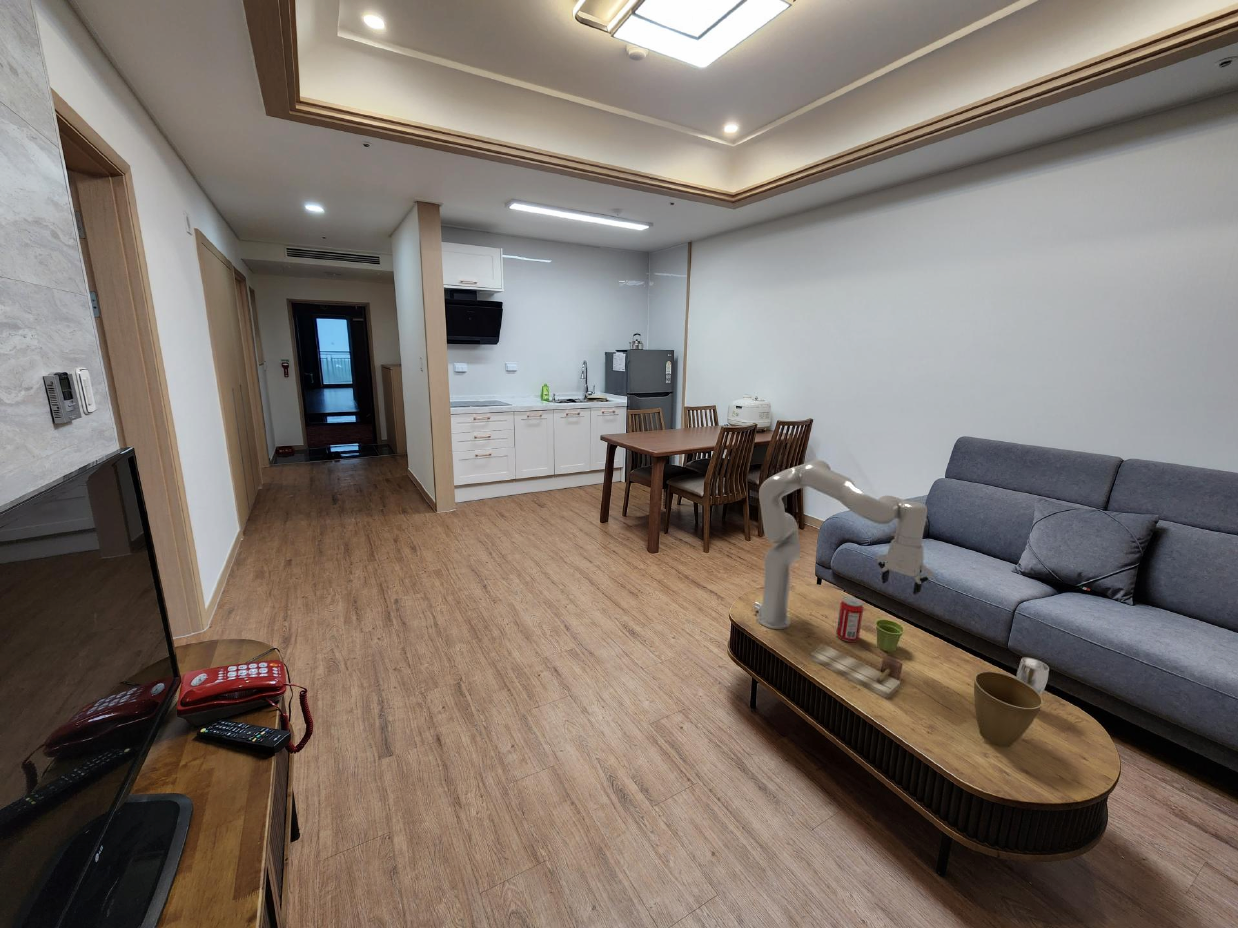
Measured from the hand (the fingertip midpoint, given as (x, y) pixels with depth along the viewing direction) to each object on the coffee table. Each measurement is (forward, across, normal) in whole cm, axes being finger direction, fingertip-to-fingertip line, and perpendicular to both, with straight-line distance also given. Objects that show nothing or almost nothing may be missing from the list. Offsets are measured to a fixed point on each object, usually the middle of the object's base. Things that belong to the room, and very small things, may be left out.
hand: (900, 587), depth 165 cm
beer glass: (+28, +36, +10) cm, 47 cm away
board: (+28, -5, -15) cm, 32 cm away
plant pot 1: (+28, -4, +9) cm, 30 cm away
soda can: (+28, -16, +4) cm, 33 cm away
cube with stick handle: (+28, +4, -11) cm, 31 cm away
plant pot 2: (+28, +34, -12) cm, 46 cm away
